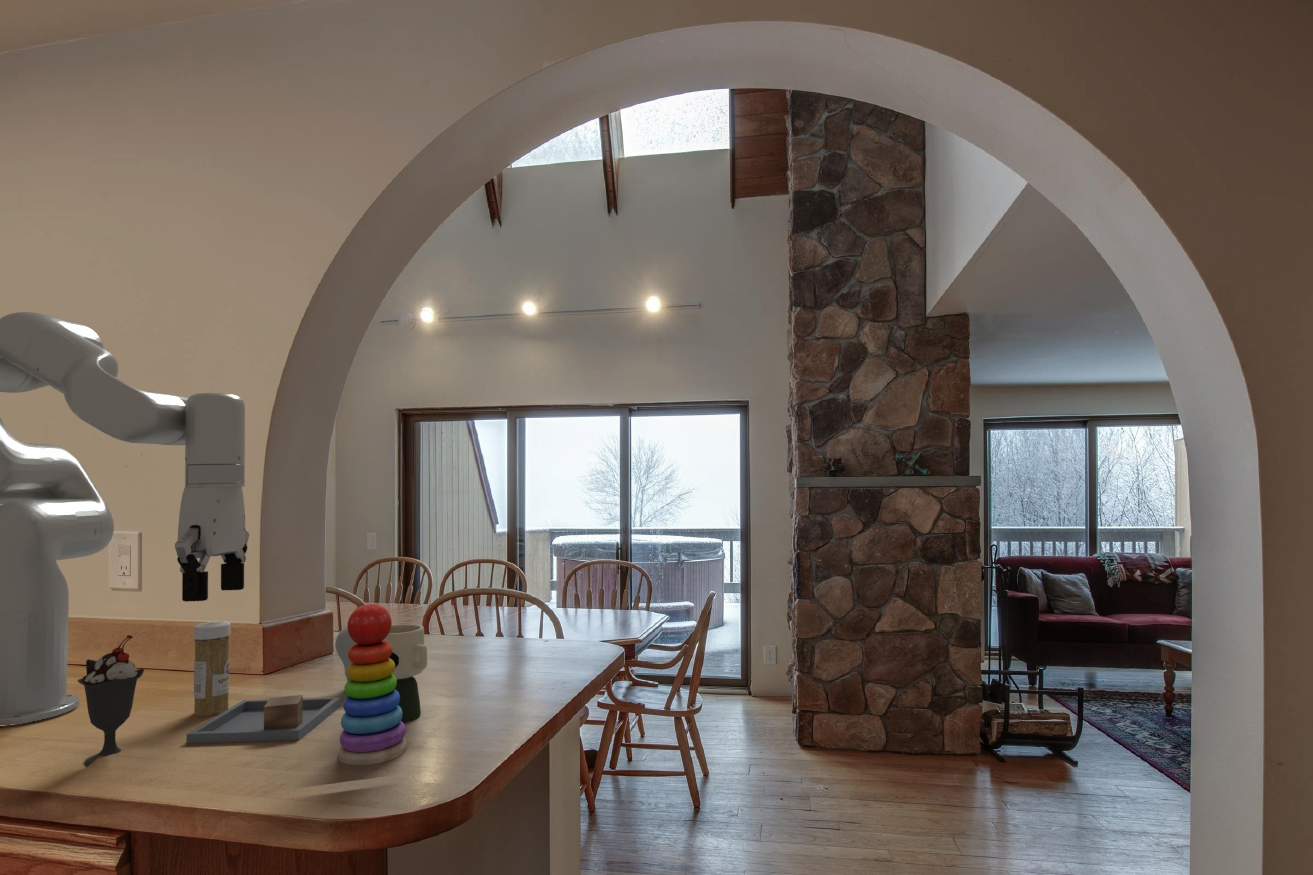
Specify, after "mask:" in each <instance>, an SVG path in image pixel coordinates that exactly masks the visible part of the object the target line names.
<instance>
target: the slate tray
mask: <svg viewBox="0 0 1313 875" xmlns="http://www.w3.org/2000/svg"><path fill="white" fill-rule="evenodd" d="M269 699H270V698H269ZM269 699H267V698H266V699H265V698H264V699H242V700H241V701H239V702H238V703H236V704H234V705H233V706H231V707H228V710H226V711H224V712H223V713H221V714H219V715H215V716H214V717H212V718H210V719H209V720H208V721H206V722H204V723H203V724H201V725H200V726H198V727H196V728H195V729H193V730H191V731H189V732H187V733H186V734H185V735H186V738H185V739H186V742H185V743H186V745H197V744H198V745H200V744H201V745H202V744H203V745H205V744H225V743H226V744H230V743H231V744H232V743H233V744H234V743H257V742H258V743H260V742H264V743H265V742H288V741H289V742H290V741H291V742H292V741H300V740H301V739H302V738H304V737H305V736H306V735H307V734H309V733H310V732H311V731H312V730H313V729H314V728H316V727H317V726H318V725H319V724H320V723H322V722H323V721H324V720H326V719H327V718H328V717H329V716H330V715H331V714H333V713H334V712H335V711H336V710H338V709H339V708H340V707H341V706H342V698H341V696H338V697H336V696H335V697H333V696H332V697H305V698H304V697H303V722H302V724H301V725H299V726H298V727H297V728H295V729H264V706H265V705H266V703H267V702H268V700H269Z"/></svg>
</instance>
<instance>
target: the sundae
mask: <svg viewBox="0 0 1313 875" xmlns="http://www.w3.org/2000/svg"><path fill="white" fill-rule="evenodd" d="M133 637H134V636H133V635H129V634H127V635H126V637H125V638H124V639H123V640H122V641H121V642H120V644H119V645H118V647H115V648H113V649H112V651H111V652H109V653H107V654H103V655H102V656H101V657H99V659H97V660H94V659H89V658H88V659H86V661H85V669H86V675H83V677H82V678H79V679H77V683H79V684H81V685H82V686H84V691H85V692H84V693H85V697H86V699H85V700H86V704H87V706H86V707H87V713H88V717H89V721H90V724H92V726H94V727H95V728H96V729H98V730H101V731H102V733H103V734H104V738H103V740H104V741H103V745H102V748H101V750H100V752H98V753H97V754H94V755H92V756H89V757H88V758H86V759H85V760H84V764H83V765H85V766H88V767H89V766H90V765H92V764H93V763H94V762H95V761H96V760H97V759H98V758H100V757H105V756H107V757H108V756H111V755H116V754H119V753H120V752H121V751H122V749H120V747H118V745H117V741H116V734H117V732H116V731H117V730H118V729H119V728H120V727H121V726H122V725H123V724H124V723H125V722H126V721H127V720H128V719H129V718H130V716H131V712H132V708H133V705H134V704H133V703H134V698H135V691H136V687H137V682H138V679H140V678H141V677H143V675H144V672H145V670H144V668H140V669H137V667H136V665H135V663H134V662H132V661H130V660H129V659H130V654H129V653H126V652H125V649H124V648H125V645H126V643H127V642H129V641H130V640H131V639H133ZM121 646H122V647H121Z"/></svg>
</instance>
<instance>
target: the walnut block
mask: <svg viewBox="0 0 1313 875" xmlns="http://www.w3.org/2000/svg"><path fill="white" fill-rule="evenodd" d="M303 695H304V694H297V695H287V696H277V697H270V698H269V700H268V702H267V703H266V705H265V706H264V729H295V728H297V727H298V726H299V725H301V724H302V722H303V698H304V697H303Z"/></svg>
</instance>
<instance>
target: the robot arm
mask: <svg viewBox="0 0 1313 875" xmlns="http://www.w3.org/2000/svg"><path fill="white" fill-rule="evenodd" d="M118 374H119V363H118V360H117V359H116V357H115V356H114V355H113V354H112V353H111V352H110V351H109V350H106V349H105V347H104V342H103V341H102V338H100V336H99V334H98V333H97V332H96V331H95V330H93V329H92V328H90V327H89V326H88V325H85V324H83V323H79V322H77V321H71V320H68V319H64V318H59V317H54V316H51V315H47V314H42V313H36V312H33V311H32V312H30V311H20V312H13V313H12V312H11V313H8V314H6V315H4V316H1V317H0V393H7V394H8V393H9V394H10V393H13V394H15V393H18V394H19V393H25V392H30V391H34V390H38V389H40V388H45V387H49V386H50V387H51V388H53V389H55V390H57V391H58V392H59V393H62V394H63V396H64V400H65V402H66V404H67V406H68V408H69V409H70V411H71V412H72V413H73V414H74V415H75V416H76V417H77V418H79V419H80V420H82V421H83V422H85V423H86V424H89V426H91V427H93V428H96V429H97V430H99V431H100V432H102V433H104V434H106V435H108V436H109V437H112V438H114V439H116V440H119V441H122V442H126V443H130V444H147V445H148V444H149V445H163V446H184V448H185V449H184V453H185V455H184V456H185V457H184V460H185V462H184V488H183V491H182V496H181V501H180V508H179V513H178V514H179V515H178V524H177V525H178V526H177V541H176V542H175V543H174V548H175V553H176V556H177V558H176V559H177V563H178V564H179V565H180V566H179V571H180V573H182V575H181V576H182V578H181V580H182V581H181V583H182V584H181V600H182V601H183V602H185V603H186V602H204V601H208V599H209V571H205V570H206V568H207V565H208V563H209V561H210V558H211V557H218V556H220V557H221V559H222V561H223V563H221V564H220V589H221V591H240V590H244V588H245V563H246V560H247V556H246V553H247V551H248V543H249V539H250V533H249V532H248V530H246V514H245V512H246V511H245V510H246V509H245V508H246V507H245V500H244V498H245V497H244V490H243V488H244V487H246V486H245V481H246V480H245V477H246V476H245V475H246V474H245V471H246V470H245V469H246V468H245V465H246V464H245V462H246V461H245V460H246V458H245V456H246V455H245V454H246V452H245V450H246V449H245V448H246V445H245V441H246V440H245V439H246V435H245V434H246V432H245V431H246V409H245V408H246V406H245V402H244V400H243V399H242V397H240V396H239V395H237V394H236V395H235V394H231V393H221V392H201V393H194V394H192V395H189V396H182V395H174V394H171V393H170V394H169V393H163V392H156V391H150V390H141V389H138V388H135V387H134V386H132V385H129V384H127V383H126V382H124V381H122V380H120V379H118V378H117V377H118ZM114 523H115V522H114V519H113V516H112V512H111V510H110V508H109V507H108V504H107V503H106V502H105V500H104V499H103V497H102V495H101V493H100V492H99V491H98V488H97V487H96V485H95V484H94V482H93V480H92V479H91V478H90V476H89V475H88V473H87V471H86V469H84V466H83V465H82V464H81V462H80V461H79V459H77V457H76V456H74V455H73V454H72V453H70V452H69V451H68V450H66V449H65V448H62V447H60V446H58V445H53V444H47V443H31V442H30V443H29V442H27V443H26V442H23V441H20V440H18V439H16V438H15V437H14V436H13V435H12V434H11V432H10V431H9V430H8V428H7V426H6V425H5V423H4V422H3V420H2V418H1V417H0V725H10V724H18V725H21V724H20V723H25V724H28V723H27V722H30V723H33V722H32V721H35V722H38V721H37V720H39V721H43V720H42V719H44V720H47V719H46V718H48V719H50V717H51V718H53V717H54V716H55V717H57V716H61V715H64V714H65V713H68V712H71V711H73V710H74V708H75V709H76V708H78V707H79V705H80V696H78V695H76V694H72V693H67V686H68V685H67V680H68V673H67V672H68V648H69V647H68V644H69V641H68V639H69V606H70V603H69V601H70V600H69V598H70V596H69V595H70V594H69V592H70V591H69V587H68V586H69V585H68V582H67V580H66V577H65V575H64V574H63V572H62V570H61V568H60V566H59V565H58V563H57V561H62V560H70V559H77V558H83V557H88V556H92V555H95V554H98V553H99V552H102V551H103V550H104V549H105V548H106V547H107V546H108V545H109V544H110V542H111V541H112V539H113V535H114V533H115V532H114V530H115V525H114ZM198 559H199V560H198ZM63 713H64V714H63ZM60 714H61V715H60ZM55 717H54V718H55Z"/></svg>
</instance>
